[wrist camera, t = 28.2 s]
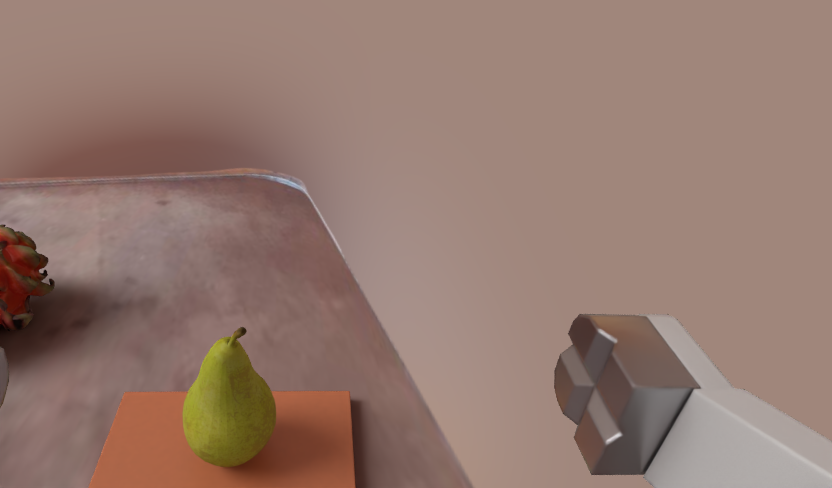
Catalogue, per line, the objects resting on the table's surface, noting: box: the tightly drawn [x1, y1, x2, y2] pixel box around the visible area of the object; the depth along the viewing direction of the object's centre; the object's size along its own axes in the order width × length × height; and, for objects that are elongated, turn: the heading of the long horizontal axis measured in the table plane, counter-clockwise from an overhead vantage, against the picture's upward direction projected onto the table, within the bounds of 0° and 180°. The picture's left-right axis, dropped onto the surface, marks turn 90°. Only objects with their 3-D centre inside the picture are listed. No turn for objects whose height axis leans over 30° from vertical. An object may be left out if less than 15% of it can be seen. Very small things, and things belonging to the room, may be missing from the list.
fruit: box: [183, 327, 276, 467], centre depth 34 cm, size 6×6×12 cm
